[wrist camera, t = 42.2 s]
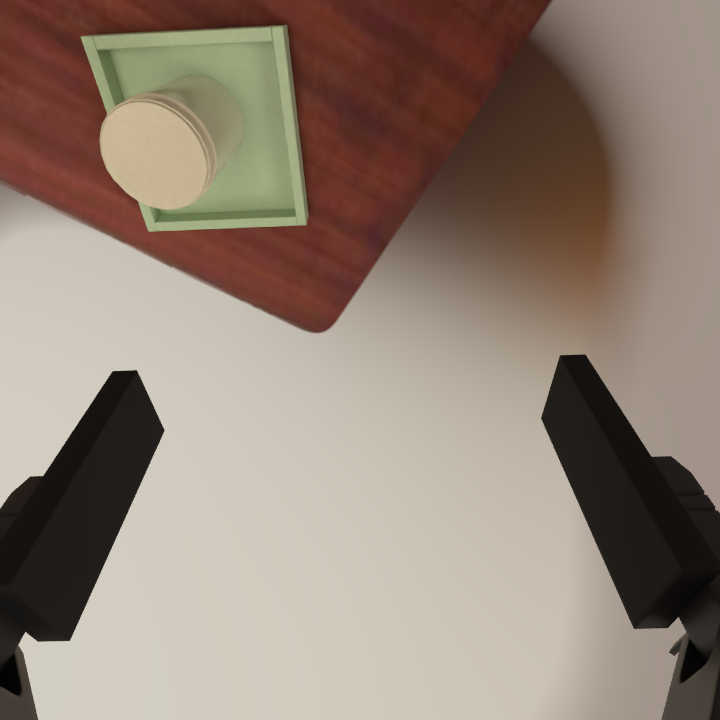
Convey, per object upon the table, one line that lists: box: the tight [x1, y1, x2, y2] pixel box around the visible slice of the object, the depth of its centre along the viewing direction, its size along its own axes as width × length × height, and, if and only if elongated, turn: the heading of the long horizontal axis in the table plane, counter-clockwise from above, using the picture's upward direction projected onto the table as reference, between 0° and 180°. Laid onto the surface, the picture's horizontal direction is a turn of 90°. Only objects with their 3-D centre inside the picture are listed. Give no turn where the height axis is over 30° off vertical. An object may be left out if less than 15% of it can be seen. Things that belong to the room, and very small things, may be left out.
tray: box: [81, 25, 309, 231], centre depth 35 cm, size 14×14×2 cm
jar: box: [99, 74, 244, 210], centre depth 31 cm, size 6×6×11 cm
